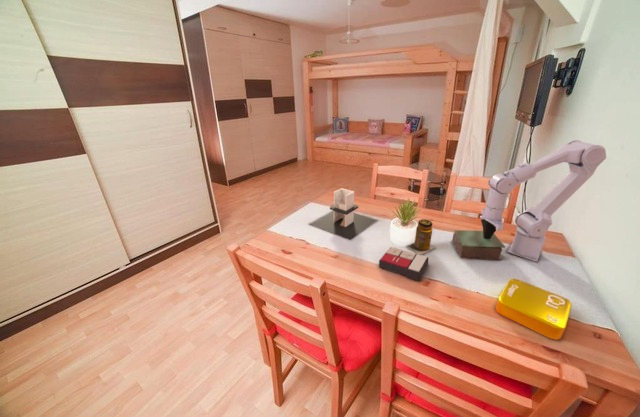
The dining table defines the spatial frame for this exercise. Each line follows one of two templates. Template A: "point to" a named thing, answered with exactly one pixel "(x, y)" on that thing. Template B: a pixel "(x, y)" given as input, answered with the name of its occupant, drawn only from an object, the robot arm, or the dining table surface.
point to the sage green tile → (477, 239)
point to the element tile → (534, 308)
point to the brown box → (476, 251)
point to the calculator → (404, 263)
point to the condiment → (422, 237)
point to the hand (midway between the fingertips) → (486, 237)
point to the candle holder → (343, 217)
